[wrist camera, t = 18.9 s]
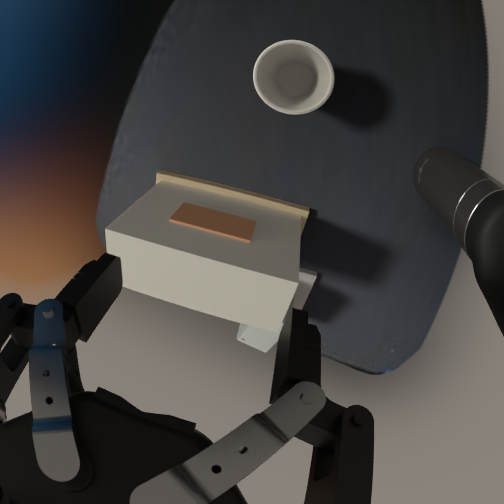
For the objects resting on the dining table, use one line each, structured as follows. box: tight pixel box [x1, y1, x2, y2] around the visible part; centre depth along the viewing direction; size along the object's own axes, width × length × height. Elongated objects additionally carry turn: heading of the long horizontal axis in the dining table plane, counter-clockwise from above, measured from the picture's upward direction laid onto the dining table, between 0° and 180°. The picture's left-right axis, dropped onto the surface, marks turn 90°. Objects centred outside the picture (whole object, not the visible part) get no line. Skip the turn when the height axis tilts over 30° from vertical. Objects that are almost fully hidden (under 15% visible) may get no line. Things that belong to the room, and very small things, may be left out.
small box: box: [237, 296, 294, 353], centre depth 48 cm, size 8×6×10 cm
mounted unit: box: [105, 170, 309, 333], centre depth 39 cm, size 24×10×18 cm, turn 78°
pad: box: [294, 267, 317, 310], centre depth 52 cm, size 14×11×1 cm
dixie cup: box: [253, 40, 334, 115], centre depth 30 cm, size 8×8×10 cm
